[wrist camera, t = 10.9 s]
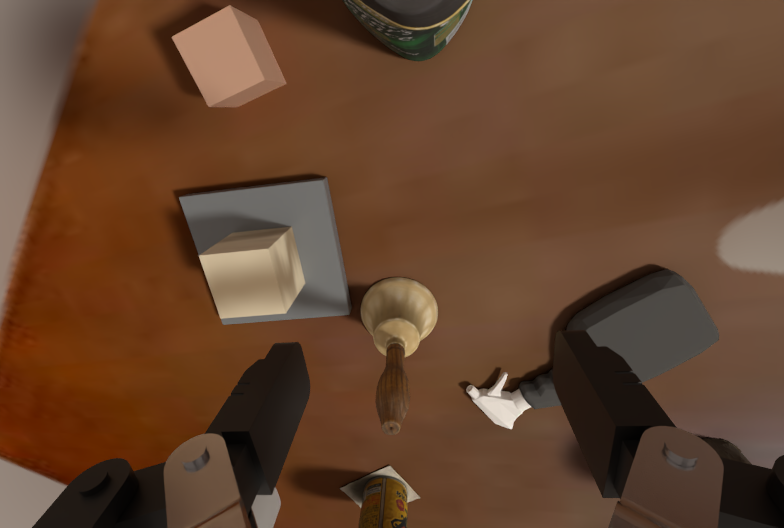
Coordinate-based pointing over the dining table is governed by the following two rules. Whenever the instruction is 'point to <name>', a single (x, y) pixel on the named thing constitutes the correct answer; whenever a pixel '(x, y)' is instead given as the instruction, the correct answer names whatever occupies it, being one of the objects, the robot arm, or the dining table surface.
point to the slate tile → (276, 210)
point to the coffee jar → (411, 23)
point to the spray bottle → (621, 340)
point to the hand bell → (397, 339)
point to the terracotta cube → (229, 58)
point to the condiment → (381, 499)
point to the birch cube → (254, 272)
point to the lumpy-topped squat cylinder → (266, 509)
